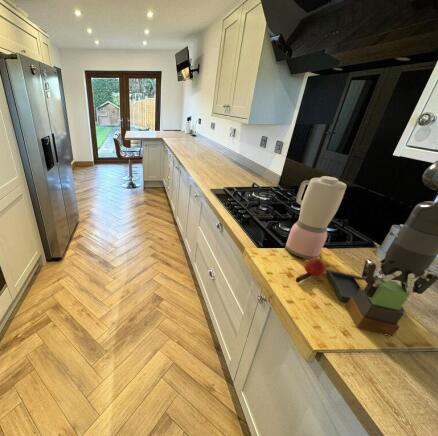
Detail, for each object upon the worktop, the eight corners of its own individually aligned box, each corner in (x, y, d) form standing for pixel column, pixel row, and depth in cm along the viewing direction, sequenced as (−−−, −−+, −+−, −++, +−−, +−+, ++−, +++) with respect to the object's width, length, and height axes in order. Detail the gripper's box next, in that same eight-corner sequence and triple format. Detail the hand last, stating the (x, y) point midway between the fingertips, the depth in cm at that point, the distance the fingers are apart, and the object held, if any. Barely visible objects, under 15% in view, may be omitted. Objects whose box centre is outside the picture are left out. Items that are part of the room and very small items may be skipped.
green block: (387, 295, 65) (396, 281, 63) (398, 310, 61) (409, 295, 58) (363, 290, 67) (371, 276, 65) (373, 304, 62) (382, 290, 60)
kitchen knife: (297, 283, 80) (299, 278, 79) (294, 281, 81) (296, 277, 80) (327, 269, 88) (329, 265, 87) (324, 267, 89) (326, 263, 88)
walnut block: (376, 314, 70) (383, 304, 68) (392, 336, 63) (399, 326, 61) (345, 306, 72) (350, 297, 70) (356, 327, 65) (363, 317, 63)
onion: (322, 283, 81) (331, 264, 78) (303, 278, 83) (311, 260, 79) (318, 273, 86) (326, 255, 83) (300, 269, 88) (307, 251, 84)
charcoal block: (382, 305, 67) (389, 294, 66) (396, 324, 62) (404, 313, 60) (353, 298, 69) (359, 288, 68) (364, 316, 63) (371, 305, 62)
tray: (377, 285, 81) (380, 280, 80) (400, 315, 70) (404, 310, 69) (325, 274, 85) (327, 270, 85) (339, 301, 74) (342, 295, 73)
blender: (325, 258, 95) (360, 182, 81) (304, 264, 91) (336, 184, 77) (291, 239, 108) (316, 170, 94) (271, 243, 104) (294, 172, 90)
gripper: (387, 247, 55) (356, 300, 62) (468, 260, 51) (425, 316, 58) (371, 232, 61) (345, 282, 69) (442, 243, 57) (406, 295, 65)
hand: (381, 297), depth 63 cm, fingers closed on green block, 5 cm apart
